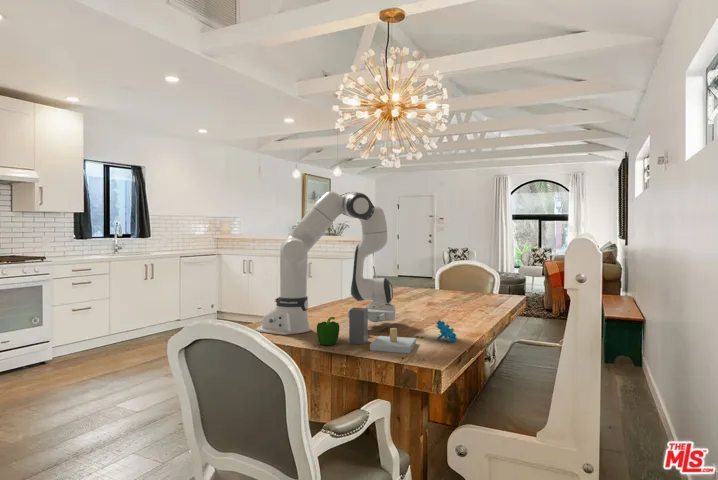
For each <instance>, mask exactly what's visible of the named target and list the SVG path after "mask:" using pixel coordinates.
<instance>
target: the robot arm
mask: <svg viewBox="0 0 718 480" xmlns="http://www.w3.org/2000/svg"><path fill="white" fill-rule="evenodd" d="M340 215H343V216H344V215H345V216H347V217H349V218H352V219H358V220H359V221H360V224H361V233H362V235H361V241H360V242H359V243H357V244H356V247H355V250H354V257H353V259H354V260H353V267H352V268H353V269H352V271H353V272H352V278H351V279H352V280H351V283H350V284H351V286H350V296H351V297H352V298H353V299H354V300H356V301H357V302H362V301H363V302H364V301H371V302H369V303H368V304H367V305H366V306H365V308H368V322H369V321H370V322H372V323H379V322H385V321H390V322H391V321H393V322H394V321H396V318H397V311H396V310H397V309H396V305H395V304H392V300H393V299H394V298H393V296H394V290H393V289H394V288H393V286H392V283H391V282H390V280H389V279H387V278H386V277H380V278H379V277H377V278H364V275H363V274H364V266H365V264H364V263H365V259H366V258H367V257H368V256H370V255H372V254H375V253H377V252H379V251H381V250H383V248H385V246H386V245H387V242H388V226H387V221H386V216H385V211H384V210H383V209H382V208H381V207H379V206H376V205H374V204H373V203H372V201H371V200H370V198H369V197H368V196H367V195H366V194H364V193H362V192H358V191H351V192H346V193H344V194H341V195H340V194H339V193H337V192H335V191H327V192H325V193H324V194H323V195H322V196H321V197H320V198H318V200H316V202H315V203H313V205H312V206H311V208H309V210H308V211H307V212H306V214H305V215H304V216H303V218H302V219H301V220H300V221H299V222H298V223H297V225H296V226H295V227H294V228H293V229H292V231H291V232H290V233H289V234H288V235H287V237H286V238H285V239H284V240H283V242H282V243H281V245H280V249H279V260H280V261H279V263H280V265H279V266H280V267H279V268H280V269H279V272H280V273H279V274H280V276H279V277H280V278H279V293H280V294H279V296H278V297H277V298H275V299H274V303H276V304H275V306H274V307H273V308H271V309H270V310H269V311H268V312H266V313H265V314H264V315H263V317H262V321H261V325H259V326H257V327H256V330H257V331H256V332H260V333H267V334H274V335H283V336H285V335H292V334H293V335H294V334H295V335H296V334H301V333H307V332H310V331H311V327H310V325H311V324H310V322H309V317H308V316H309V315H308V308H309V302H308V298H309V297H308V295H307V293H308V292H307V291H308V290H307V287H308V286H307V283H308V281H307V280H308V279H307V276H308V253H309V252H310V250H311V249H312V248H313V247H314V246H315V245H316V243H317V242H318V241H319V240H320V239H321V238H322V237H323V236H324V235H325V233H326V232H327V231H328V230H329V228H330V227H331V226H332V224H333V223H334V222H335V220H336V219H337V218H338V217H339V216H340ZM352 308H353V307H351V308H348V309H347V318H348V319H349V310H350V309H352Z"/></svg>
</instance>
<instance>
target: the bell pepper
mask: <svg viewBox="0 0 718 480" xmlns="http://www.w3.org/2000/svg"><path fill="white" fill-rule="evenodd" d="M335 319H336V317H334V316H330V317H328V318H327V320H326V321H322V322H318V323H317V325H316V334H317V340H318V342H319V344H321V345H323V346H332V345H334V344H337V342H338V339H339V335H340V323H338V322H336V321H333V320H335ZM331 320H332V321H331Z"/></svg>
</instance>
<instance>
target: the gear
mask: <svg viewBox="0 0 718 480" xmlns="http://www.w3.org/2000/svg"><path fill="white" fill-rule="evenodd" d="M435 324H436V325H437V326H436V328H437V329H439V332H440V335H438V336H437V337H436V339H437V340H438V341H440V340H441V339H442V338H444V339H447V338H448V341H449V342H452V343H456V342H457V340H458V337H457V334H456V333H455V332H454V331H455V329H454V328H453V327H451V328H450V325H449V324H448V323H447V324H446V322H445V321H443V320H440V319H438V321H437V322H436V323H435Z"/></svg>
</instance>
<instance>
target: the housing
mask: <svg viewBox="0 0 718 480" xmlns="http://www.w3.org/2000/svg"><path fill="white" fill-rule="evenodd" d="M351 308H352V309H351ZM351 308H349V309H350V310H349V309H348V310H349V318H348V319H349V320H348V325H349V326H348V327H349V329H348V330H349V331H348V333H349V335H348V342H349V344H350V345H351V344H353V345H365V344H367V342H368V341H369V336H368V335H369V330H368V329H369V324H368V323H369V320H368V308H366V307H351Z"/></svg>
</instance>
